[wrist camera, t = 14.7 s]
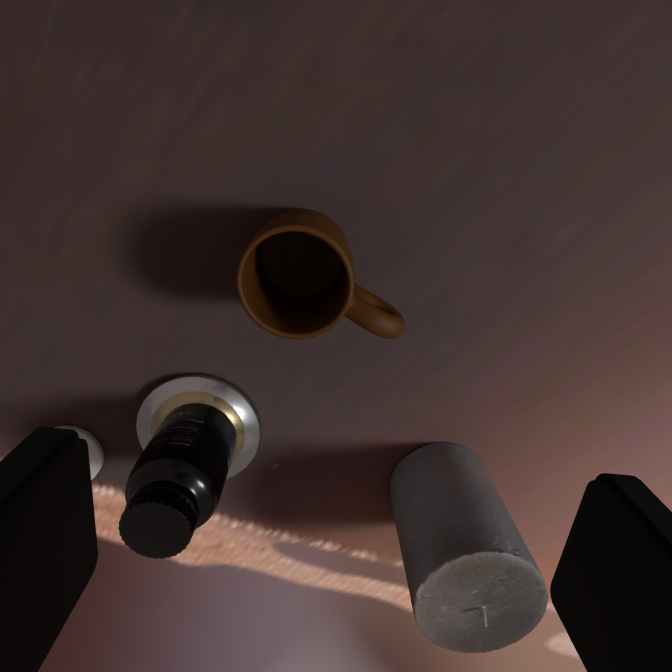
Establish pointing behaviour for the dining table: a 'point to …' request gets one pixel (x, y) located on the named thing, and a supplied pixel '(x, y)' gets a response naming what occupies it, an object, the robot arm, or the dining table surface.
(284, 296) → the mug
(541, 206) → the dining table surface
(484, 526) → the pillar candle
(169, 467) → the supplement bottle
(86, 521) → the robot arm
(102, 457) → the plastic flange
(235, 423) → the silver and gold coaster
